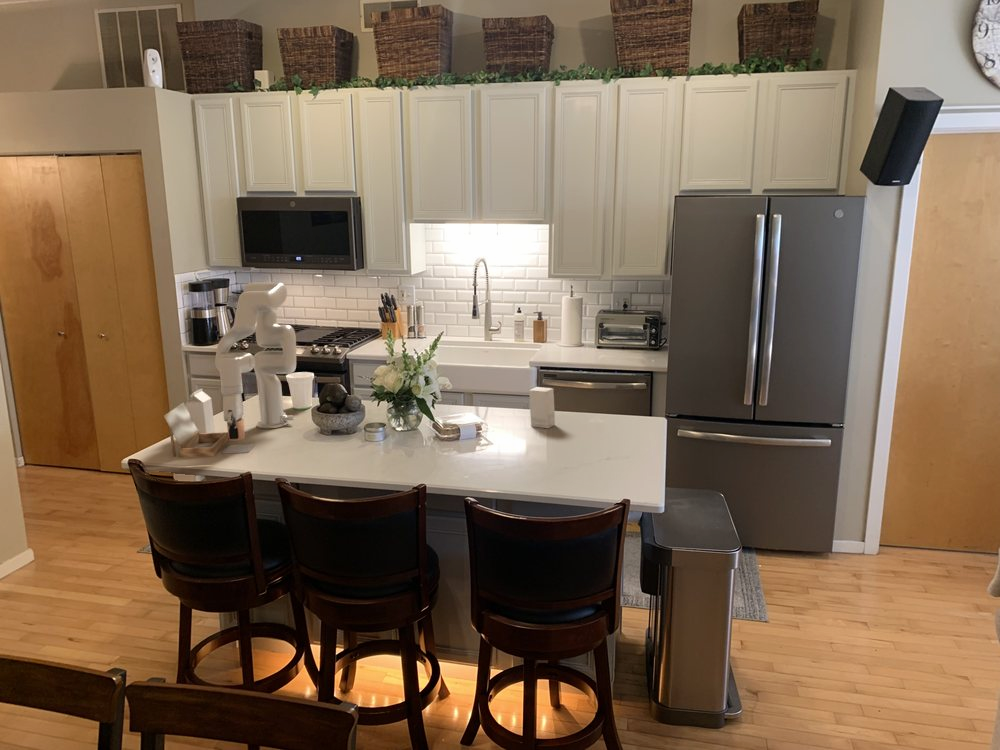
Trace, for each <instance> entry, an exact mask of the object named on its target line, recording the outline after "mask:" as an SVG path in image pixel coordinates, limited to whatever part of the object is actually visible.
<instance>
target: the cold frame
mask: <svg viewBox="0 0 1000 750" xmlns="http://www.w3.org/2000/svg"><path fill="white" fill-rule="evenodd" d="M163 417H164V419H165V421H166V423H167V425H168V427H169V435H170V442H171V443H170V445H171V452H172V457H176V456H177V454H176V447H175V440H176V442H177V444H178V446H180V448H179V455H180V458H194V457H195V458H197V457H214V456H215V455H216V454H217V453H219V451H221V449H222V448H223V447H224V446H225V445H226V444H227V443H228V442H229V441H230V440H229V439H228V431H227V432H225V431H223V432H215V433H199V430H197V428H196V426H195V424H194V422H193V420H192V418H191V416H190V414H189V412H188V410H187V407H186V403H185V402H182V403H180V404H178V405H177V406H175V407H174V408H173V409H171V410H170V411H168V413H166V414H164V415H163ZM174 438H175V439H174Z"/></svg>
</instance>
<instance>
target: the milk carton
mask: <svg viewBox="0 0 1000 750" xmlns="http://www.w3.org/2000/svg"><path fill="white" fill-rule="evenodd" d="M212 401H213V400H212V397H210V396H209V395H208V394H207V393H206V392H204V391H203V388H200V389H198V390H196V391H194V392H193V393H191V394H190V395H189V399H188V400H187V401H186V402H185V406H186V408H187V410H188V412H189V414H190V416H191V418H192V420H193V422H194V424H195V426H196V428H197V430H199V433H216V432H215V431H216V430H215V422H214V421H215V420H214V412H213V411H214V410H213V402H212Z"/></svg>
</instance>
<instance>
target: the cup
mask: <svg viewBox="0 0 1000 750" xmlns="http://www.w3.org/2000/svg"><path fill="white" fill-rule="evenodd" d="M285 378H286V379H285V380H286V381H287V383H288V387H289V391H290V398H291V403H292V407H293V409H294V410H297V411H298V410H308V409H311V408H313V403H312V402H313V380H314V378H315V374H314V372H310V371H309V372H308V371H301V372H300V371H299V372H293V373H290V374H285Z"/></svg>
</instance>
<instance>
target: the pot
mask: <svg viewBox="0 0 1000 750" xmlns="http://www.w3.org/2000/svg"><path fill="white" fill-rule="evenodd" d="M232 420H234V419H232ZM244 420H245V419H244V418H242V419H238V420H237V428H238V436H239V438H238V439H230V438H229V429H228V423H227V422H226V427H227V432H228V439H229V441H231V442H236V441H242V440H244V439H246V431H245V421H244ZM232 423H234V422H232Z"/></svg>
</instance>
